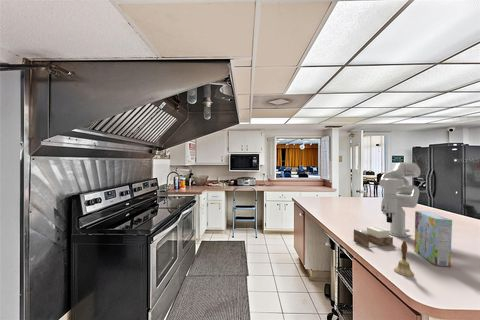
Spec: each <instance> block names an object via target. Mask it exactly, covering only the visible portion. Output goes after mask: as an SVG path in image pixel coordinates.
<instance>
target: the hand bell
mask: <svg viewBox="0 0 480 320" xmlns="http://www.w3.org/2000/svg"><path fill="white" fill-rule="evenodd" d="M400 249H401V253H402V256H401V259H400V260H398V264H397V266H396V267H395V268H394V269H393V271H394V272H395V273H396V274H398V275H401V276H405V277H413V276H414V275H415V274H414V272H413V271H412V269H411V267H410V262H408V261H407V253H408V244H407V241H405V240H402V243H401V245H400Z"/></svg>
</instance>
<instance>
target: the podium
mask: <svg viewBox="0 0 480 320" xmlns="http://www.w3.org/2000/svg"><path fill="white" fill-rule="evenodd" d="M357 230H358V229H353V241H354V242H355V243H357V244H359V245H361V246H364V247H366V248H377V247H378V246H379V247H382V246H383V247H385V246H384V245H386V246H393V244H394V238H393V237H394V236H391V235H389V237H386V238H377V237H374V236H372V235H369V234H367V233H362V232H360V231H357Z"/></svg>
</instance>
